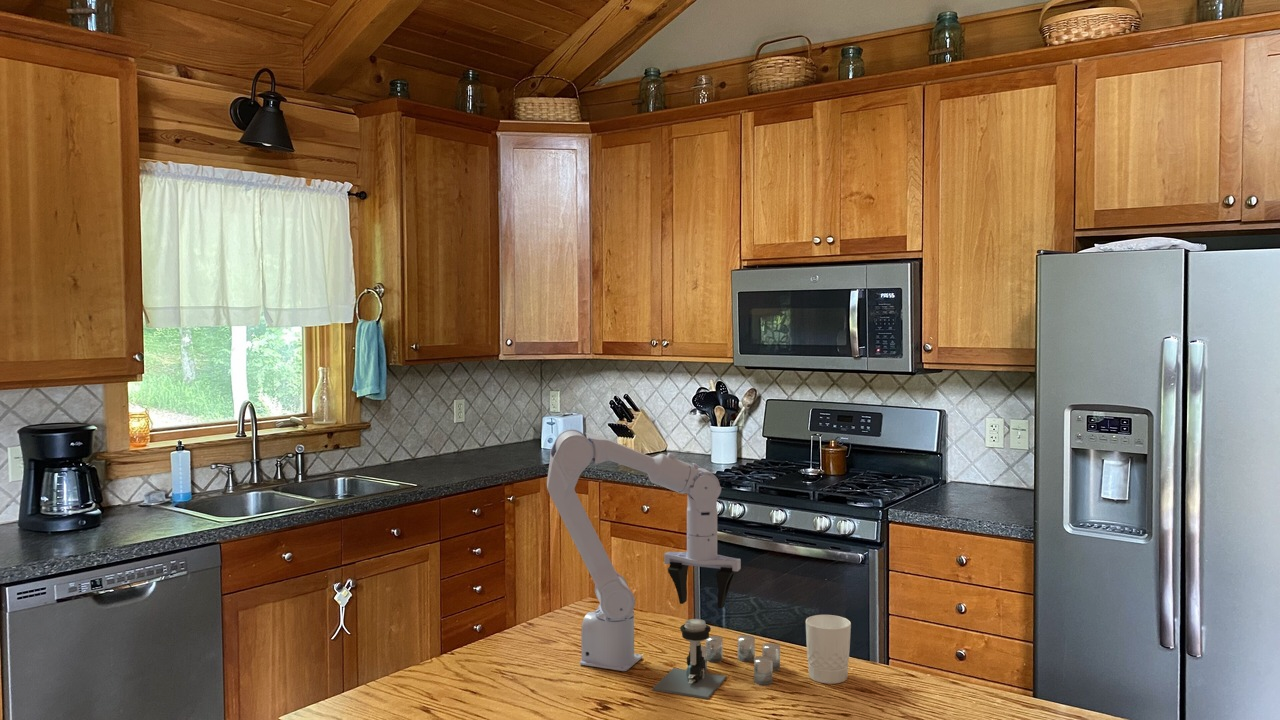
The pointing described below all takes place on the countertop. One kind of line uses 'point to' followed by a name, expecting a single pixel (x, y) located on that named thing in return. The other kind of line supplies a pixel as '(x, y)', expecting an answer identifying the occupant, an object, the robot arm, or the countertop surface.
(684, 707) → the countertop surface
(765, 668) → the cylinder
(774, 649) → the spacer back right
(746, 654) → the cylinder
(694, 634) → the push button
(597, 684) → the countertop surface
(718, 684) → the mat
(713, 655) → the cylinder
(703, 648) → the cylinder
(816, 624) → the white cup
